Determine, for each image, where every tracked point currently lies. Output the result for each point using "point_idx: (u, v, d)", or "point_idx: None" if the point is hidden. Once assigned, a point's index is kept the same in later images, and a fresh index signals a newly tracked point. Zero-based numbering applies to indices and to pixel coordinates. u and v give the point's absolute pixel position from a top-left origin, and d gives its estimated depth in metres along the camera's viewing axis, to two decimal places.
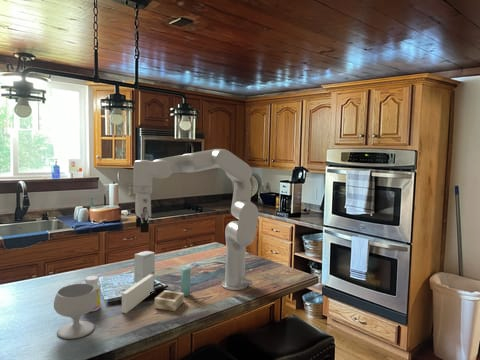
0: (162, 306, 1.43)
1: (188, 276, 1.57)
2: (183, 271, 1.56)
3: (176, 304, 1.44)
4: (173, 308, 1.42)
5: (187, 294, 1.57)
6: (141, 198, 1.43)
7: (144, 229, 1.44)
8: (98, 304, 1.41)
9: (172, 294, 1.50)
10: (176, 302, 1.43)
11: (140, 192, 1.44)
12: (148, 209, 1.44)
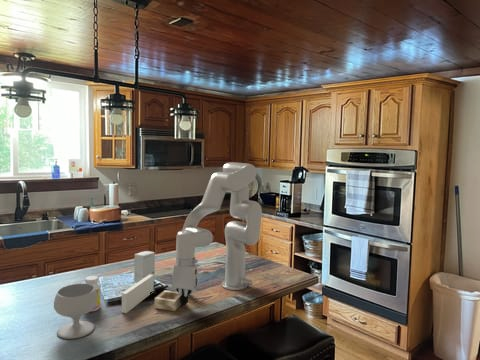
0: (162, 306, 1.43)
1: None
2: None
3: (176, 304, 1.44)
4: (173, 308, 1.42)
5: None
6: (193, 270, 1.42)
7: (187, 301, 1.45)
8: (98, 304, 1.41)
9: (172, 294, 1.50)
10: (176, 302, 1.43)
11: (191, 265, 1.42)
12: (197, 279, 1.45)
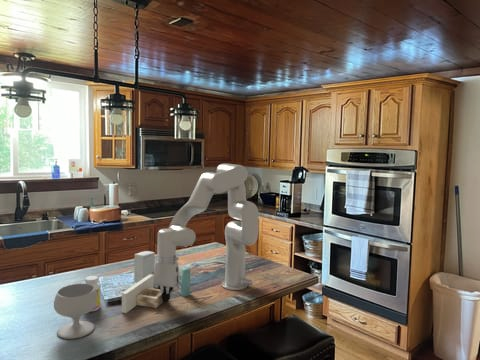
0: (144, 303, 1.45)
1: (188, 276, 1.57)
2: (183, 271, 1.56)
3: (158, 301, 1.46)
4: (155, 305, 1.44)
5: (187, 294, 1.57)
6: (175, 268, 1.44)
7: (168, 298, 1.47)
8: (98, 304, 1.41)
9: (155, 291, 1.52)
10: (158, 299, 1.45)
11: (172, 262, 1.44)
12: (178, 276, 1.47)
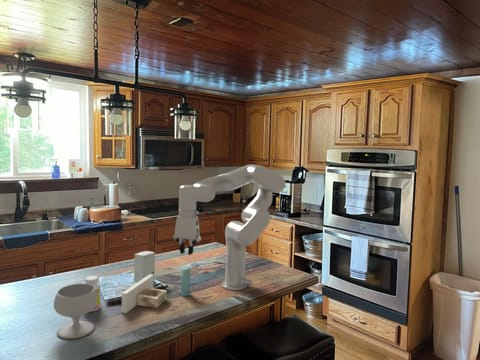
0: (144, 303, 1.45)
1: (188, 276, 1.57)
2: (183, 271, 1.56)
3: (158, 301, 1.46)
4: (155, 305, 1.44)
5: (187, 294, 1.57)
6: (195, 221, 1.53)
7: (192, 251, 1.56)
8: (98, 304, 1.41)
9: (155, 291, 1.52)
10: (158, 299, 1.45)
11: (193, 216, 1.53)
12: (198, 230, 1.56)
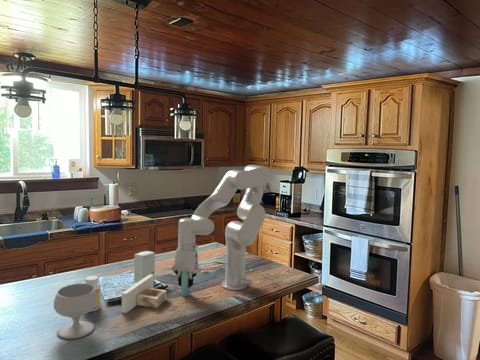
0: (144, 303, 1.45)
1: (188, 276, 1.57)
2: (183, 271, 1.56)
3: (158, 301, 1.46)
4: (155, 305, 1.44)
5: (187, 294, 1.57)
6: (194, 254, 1.55)
7: (192, 284, 1.57)
8: (98, 304, 1.41)
9: (155, 291, 1.52)
10: (158, 299, 1.45)
11: (192, 249, 1.54)
12: (197, 263, 1.57)
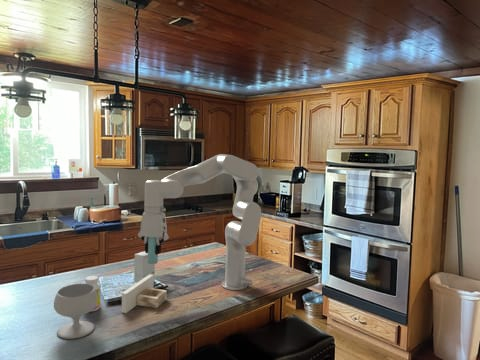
0: (144, 303, 1.45)
1: (155, 242, 1.46)
2: None
3: (158, 301, 1.46)
4: (155, 305, 1.44)
5: (154, 261, 1.46)
6: (161, 218, 1.44)
7: (159, 250, 1.46)
8: (98, 304, 1.41)
9: (155, 291, 1.52)
10: (158, 299, 1.45)
11: (159, 213, 1.44)
12: (166, 228, 1.47)
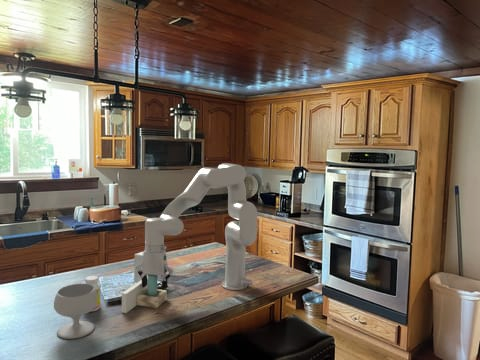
0: (144, 303, 1.45)
1: (155, 283, 1.47)
2: (149, 277, 1.47)
3: (158, 301, 1.46)
4: (155, 305, 1.44)
5: None
6: (162, 256, 1.45)
7: (166, 286, 1.47)
8: (98, 304, 1.41)
9: None
10: (158, 299, 1.45)
11: (160, 251, 1.45)
12: (167, 265, 1.48)
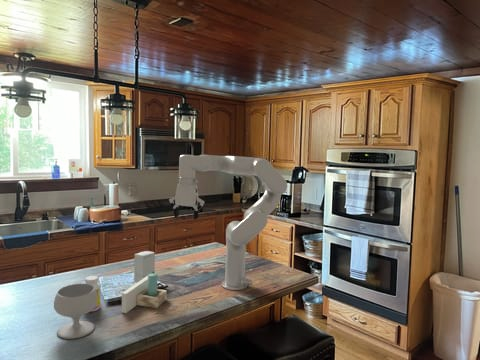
0: (144, 303, 1.45)
1: (155, 283, 1.47)
2: (149, 277, 1.47)
3: (158, 301, 1.46)
4: (155, 305, 1.44)
5: None
6: (194, 189, 1.61)
7: (197, 216, 1.63)
8: (98, 304, 1.41)
9: None
10: (158, 299, 1.45)
11: (192, 183, 1.60)
12: (197, 198, 1.64)
